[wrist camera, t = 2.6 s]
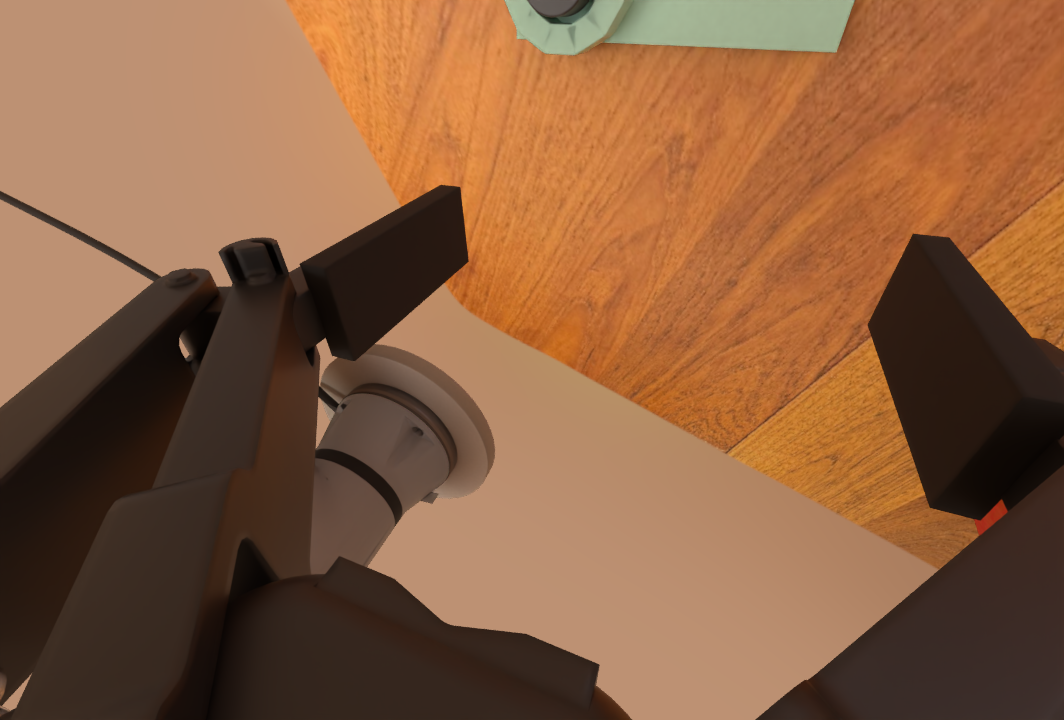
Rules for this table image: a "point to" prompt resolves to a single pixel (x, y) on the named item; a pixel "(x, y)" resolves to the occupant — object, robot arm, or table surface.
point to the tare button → (558, 7)
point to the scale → (688, 24)
